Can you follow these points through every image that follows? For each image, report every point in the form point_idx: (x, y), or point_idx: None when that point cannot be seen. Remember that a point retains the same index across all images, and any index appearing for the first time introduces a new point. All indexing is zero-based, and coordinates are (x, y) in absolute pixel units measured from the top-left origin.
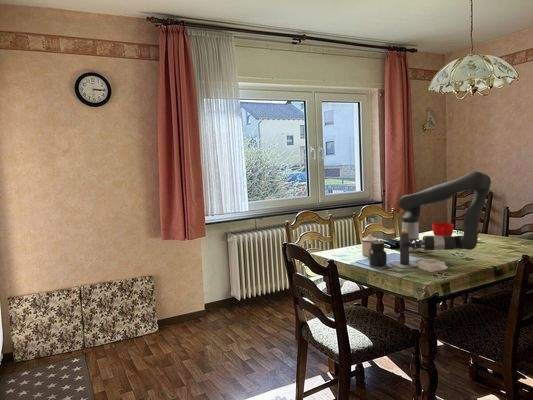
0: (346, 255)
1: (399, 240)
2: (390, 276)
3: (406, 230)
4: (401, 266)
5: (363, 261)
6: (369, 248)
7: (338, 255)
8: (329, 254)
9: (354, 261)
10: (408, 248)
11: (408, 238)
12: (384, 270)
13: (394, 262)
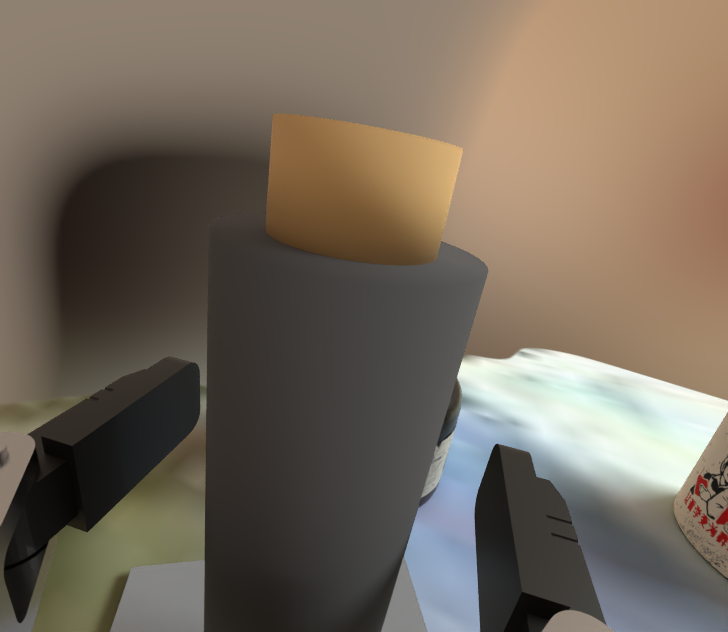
0: (637, 416)
1: (496, 448)
2: (49, 401)
3: (282, 118)
4: (183, 596)
5: (483, 429)
6: (709, 465)
7: (621, 391)
8: (629, 374)
9: (481, 397)
10: (212, 617)
11: (221, 413)
12: (203, 432)
13: (390, 613)
